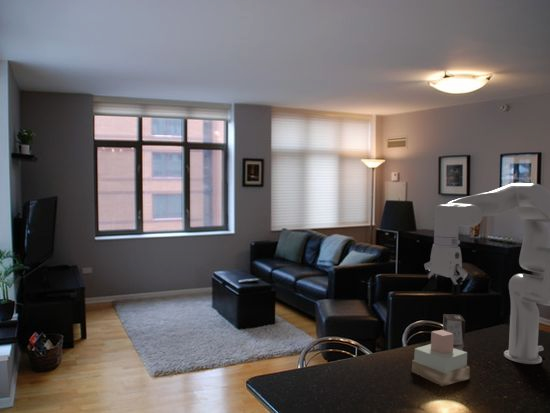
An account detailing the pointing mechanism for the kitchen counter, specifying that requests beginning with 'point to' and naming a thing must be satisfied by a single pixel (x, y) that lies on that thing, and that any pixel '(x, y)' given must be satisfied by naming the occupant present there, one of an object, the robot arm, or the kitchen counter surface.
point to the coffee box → (455, 329)
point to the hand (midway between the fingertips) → (443, 292)
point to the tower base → (441, 374)
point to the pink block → (442, 341)
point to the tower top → (440, 359)
